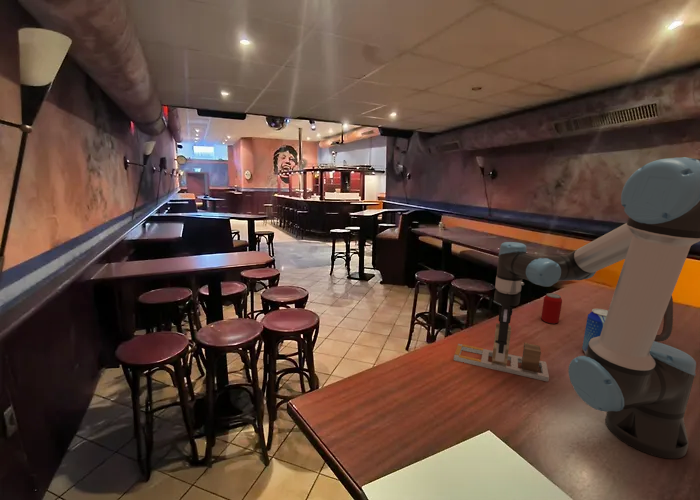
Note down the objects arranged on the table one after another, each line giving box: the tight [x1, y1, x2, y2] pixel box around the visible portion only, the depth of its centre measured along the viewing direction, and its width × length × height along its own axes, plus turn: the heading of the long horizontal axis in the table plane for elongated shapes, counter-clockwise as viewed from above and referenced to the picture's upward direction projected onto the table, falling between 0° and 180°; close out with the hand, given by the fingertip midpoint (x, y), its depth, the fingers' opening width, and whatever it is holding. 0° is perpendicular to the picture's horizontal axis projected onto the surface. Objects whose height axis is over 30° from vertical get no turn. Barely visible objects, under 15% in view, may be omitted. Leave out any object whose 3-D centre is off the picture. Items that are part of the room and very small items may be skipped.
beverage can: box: [540, 292, 563, 325], centre depth 148 cm, size 7×7×12 cm
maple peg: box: [491, 323, 512, 366], centre depth 113 cm, size 4×4×13 cm
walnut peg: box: [520, 342, 542, 373], centre depth 110 cm, size 4×4×8 cm
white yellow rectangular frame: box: [453, 343, 550, 382], centre depth 114 cm, size 10×28×2 cm, turn 65°
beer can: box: [581, 308, 609, 355], centre depth 120 cm, size 8×8×16 cm
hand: (499, 357), depth 114 cm, fingers closed on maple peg, 5 cm apart
